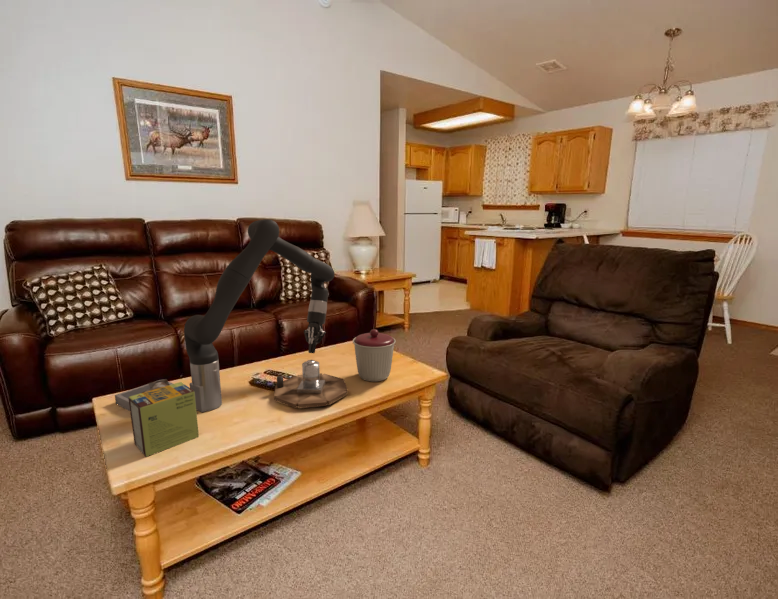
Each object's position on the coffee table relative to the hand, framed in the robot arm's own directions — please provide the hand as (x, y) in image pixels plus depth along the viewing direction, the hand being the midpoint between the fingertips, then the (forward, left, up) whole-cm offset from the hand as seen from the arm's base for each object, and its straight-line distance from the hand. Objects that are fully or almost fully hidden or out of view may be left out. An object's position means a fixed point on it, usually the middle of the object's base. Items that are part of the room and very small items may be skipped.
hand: (311, 353), depth 172 cm
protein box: (-60, +5, -12) cm, 61 cm away
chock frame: (-48, +36, -11) cm, 61 cm away
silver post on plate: (-11, -10, -9) cm, 18 cm away
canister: (+16, -20, -12) cm, 29 cm away
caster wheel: (-49, +33, -12) cm, 60 cm away
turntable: (-11, -9, -10) cm, 18 cm away
